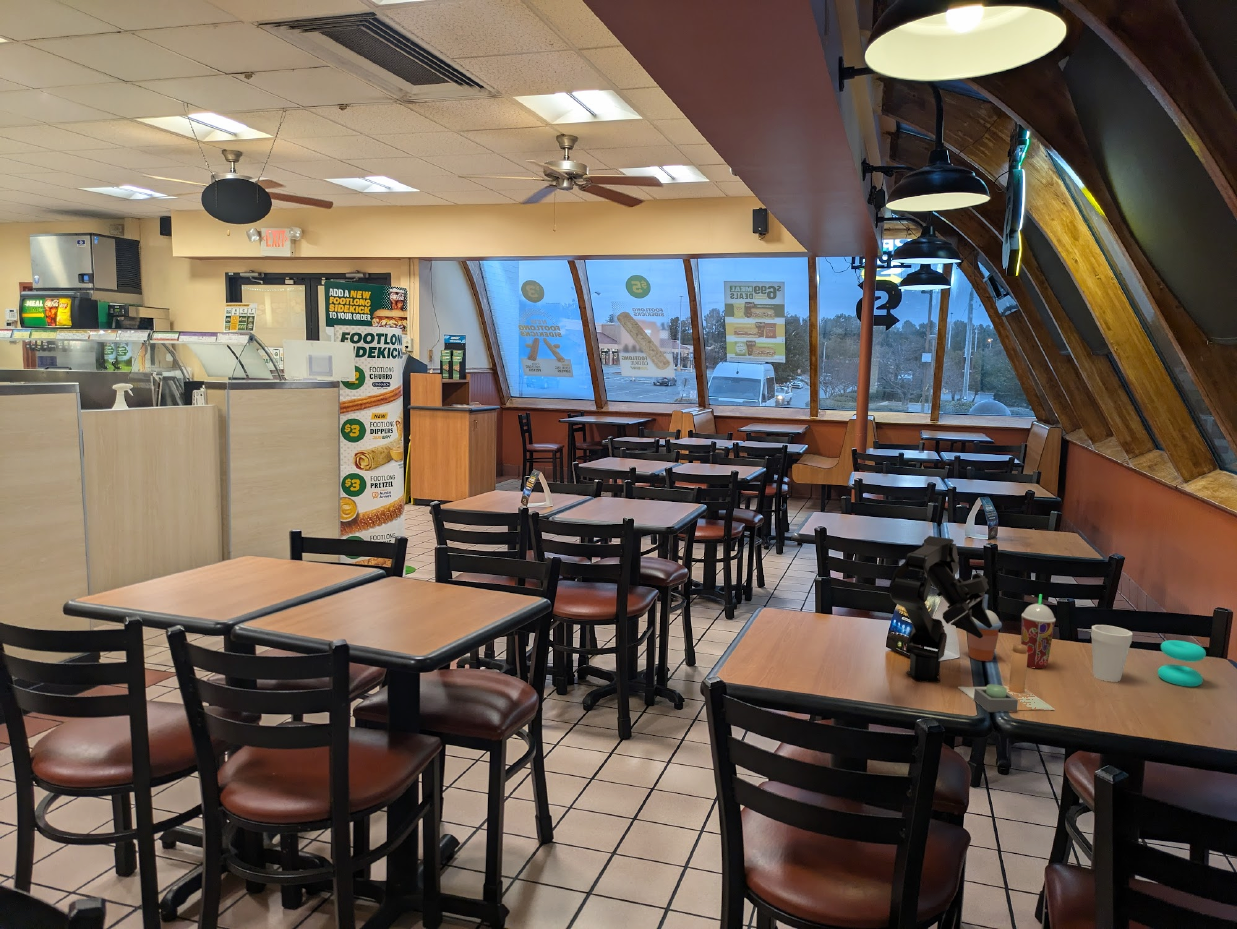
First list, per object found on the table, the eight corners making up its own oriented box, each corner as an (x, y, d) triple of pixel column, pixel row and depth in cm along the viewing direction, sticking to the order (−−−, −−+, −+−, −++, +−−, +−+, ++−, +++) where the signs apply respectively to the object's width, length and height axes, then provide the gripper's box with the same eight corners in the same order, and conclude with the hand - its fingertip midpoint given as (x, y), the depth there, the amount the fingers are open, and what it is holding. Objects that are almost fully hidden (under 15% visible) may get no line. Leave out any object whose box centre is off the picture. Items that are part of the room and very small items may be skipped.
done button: (991, 703, 201) (992, 691, 201) (982, 696, 206) (983, 684, 205) (1009, 703, 202) (1010, 691, 201) (999, 696, 206) (1000, 684, 206)
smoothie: (1054, 672, 230) (1061, 599, 227) (1021, 668, 231) (1028, 596, 229) (1045, 661, 238) (1052, 591, 235) (1013, 658, 239) (1020, 589, 237)
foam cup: (1082, 677, 227) (1087, 629, 225) (1091, 668, 233) (1096, 622, 232) (1122, 687, 220) (1127, 638, 219) (1131, 678, 227) (1136, 631, 226)
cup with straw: (995, 665, 233) (1001, 601, 231) (960, 658, 238) (966, 595, 236) (1000, 656, 241) (1006, 594, 239) (966, 649, 246) (972, 588, 244)
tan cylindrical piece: (1013, 693, 212) (1017, 648, 211) (1005, 687, 215) (1009, 643, 214) (1027, 693, 212) (1031, 648, 211) (1019, 687, 216) (1023, 643, 214)
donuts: (1165, 636, 232) (1209, 645, 226) (1161, 671, 233) (1205, 681, 227) (1157, 644, 225) (1203, 653, 218) (1153, 680, 226) (1198, 691, 219)
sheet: (988, 712, 200) (989, 699, 200) (957, 687, 216) (958, 675, 215) (1057, 712, 202) (1058, 700, 201) (1021, 687, 217) (1022, 676, 217)
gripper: (959, 573, 210) (1003, 625, 206) (979, 557, 225) (1020, 606, 220) (924, 597, 216) (966, 649, 212) (946, 580, 231) (986, 628, 226)
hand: (986, 632), depth 217 cm, fingers open, 9 cm apart
